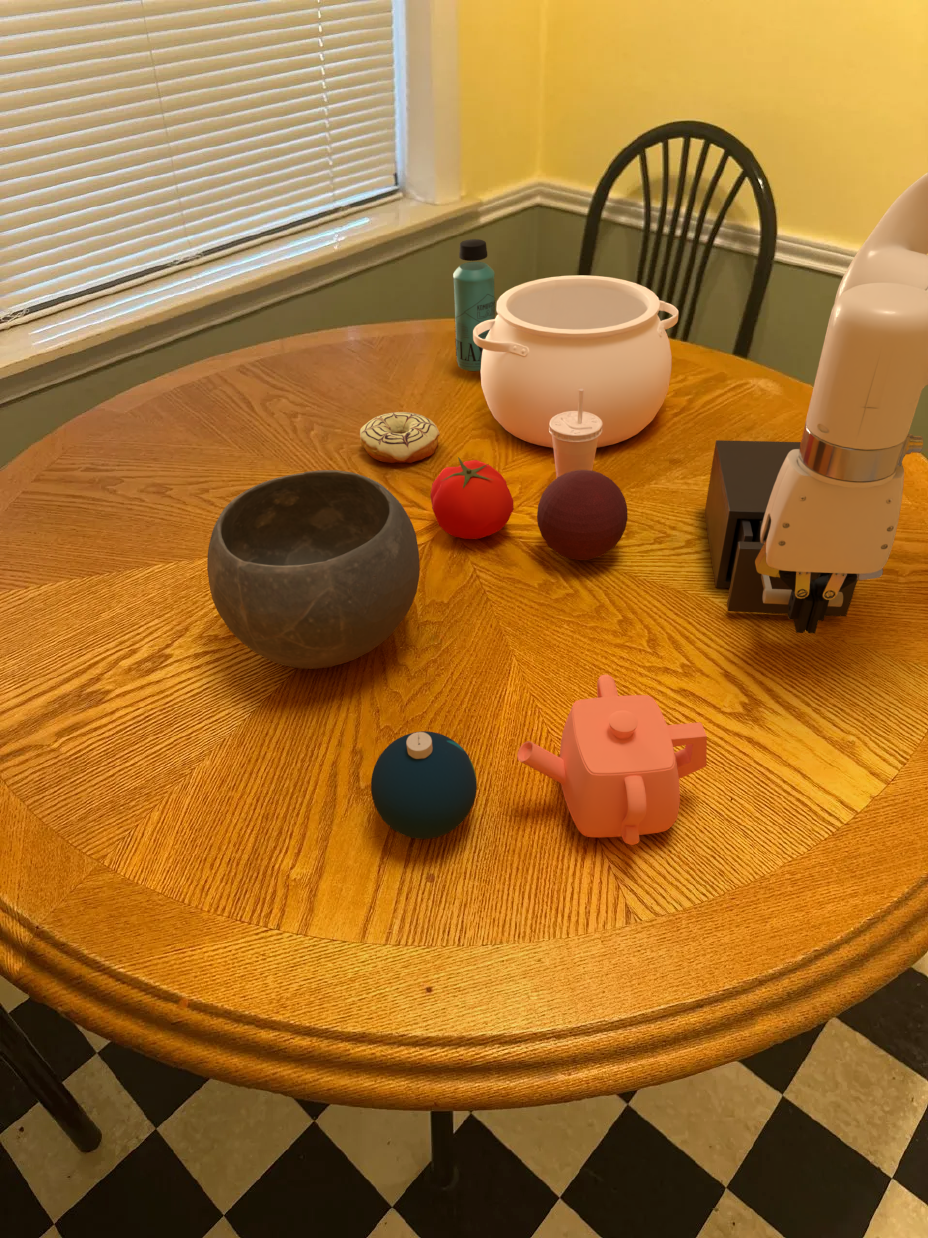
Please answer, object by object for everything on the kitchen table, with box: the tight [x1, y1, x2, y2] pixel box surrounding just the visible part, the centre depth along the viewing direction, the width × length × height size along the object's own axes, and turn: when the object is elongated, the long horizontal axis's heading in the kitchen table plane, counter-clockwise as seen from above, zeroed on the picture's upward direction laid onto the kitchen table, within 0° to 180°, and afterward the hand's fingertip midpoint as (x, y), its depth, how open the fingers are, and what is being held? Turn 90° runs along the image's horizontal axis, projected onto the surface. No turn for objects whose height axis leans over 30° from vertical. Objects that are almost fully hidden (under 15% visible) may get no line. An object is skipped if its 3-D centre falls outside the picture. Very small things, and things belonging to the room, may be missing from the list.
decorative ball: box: [536, 470, 629, 561], centre depth 96 cm, size 10×10×10 cm
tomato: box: [429, 456, 515, 540], centre depth 101 cm, size 9×10×8 cm
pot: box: [473, 275, 679, 449], centre depth 120 cm, size 29×26×16 cm
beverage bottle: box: [452, 238, 497, 372], centre depth 132 cm, size 6×7×20 cm
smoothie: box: [549, 389, 602, 478], centre depth 104 cm, size 6×6×14 cm
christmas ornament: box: [370, 730, 478, 840], centre depth 68 cm, size 8×8×10 cm
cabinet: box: [704, 439, 801, 589], centre depth 94 cm, size 15×13×10 cm
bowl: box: [206, 469, 420, 670], centre depth 85 cm, size 20×20×15 cm
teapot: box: [517, 674, 708, 846], centre depth 68 cm, size 12×12×10 cm
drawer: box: [726, 518, 858, 618], centre depth 88 cm, size 18×12×8 cm, turn 173°
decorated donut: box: [359, 411, 441, 464], centre depth 118 cm, size 10×11×4 cm
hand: (802, 623), depth 81 cm, fingers closed
